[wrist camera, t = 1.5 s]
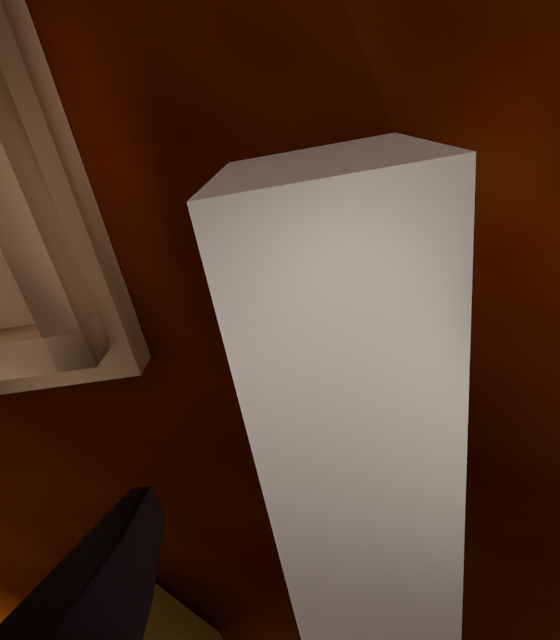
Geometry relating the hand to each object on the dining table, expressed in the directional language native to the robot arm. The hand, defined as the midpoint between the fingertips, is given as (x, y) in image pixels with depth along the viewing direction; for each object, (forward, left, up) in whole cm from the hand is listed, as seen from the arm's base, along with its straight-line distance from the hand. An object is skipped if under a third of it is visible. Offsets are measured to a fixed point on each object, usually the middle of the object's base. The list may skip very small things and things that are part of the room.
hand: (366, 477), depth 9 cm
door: (0, 0, -5) cm, 5 cm away
